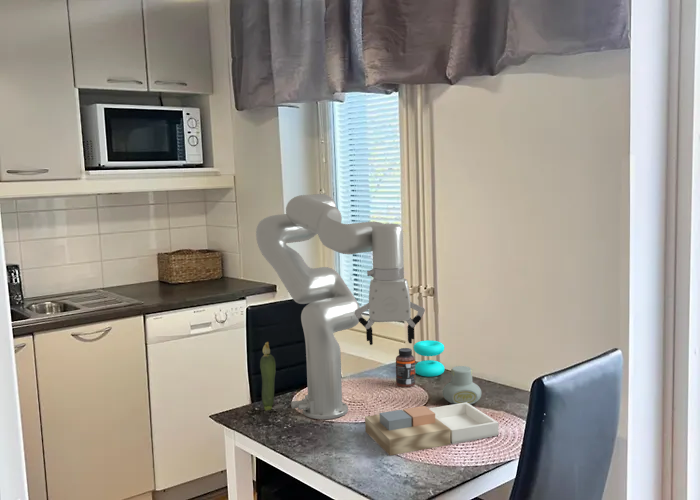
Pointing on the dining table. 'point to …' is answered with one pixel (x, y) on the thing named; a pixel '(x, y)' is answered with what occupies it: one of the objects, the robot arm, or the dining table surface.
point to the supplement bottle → (405, 368)
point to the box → (466, 422)
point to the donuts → (429, 366)
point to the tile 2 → (420, 415)
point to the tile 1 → (395, 420)
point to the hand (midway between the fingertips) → (390, 342)
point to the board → (407, 436)
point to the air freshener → (461, 387)
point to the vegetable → (267, 377)
